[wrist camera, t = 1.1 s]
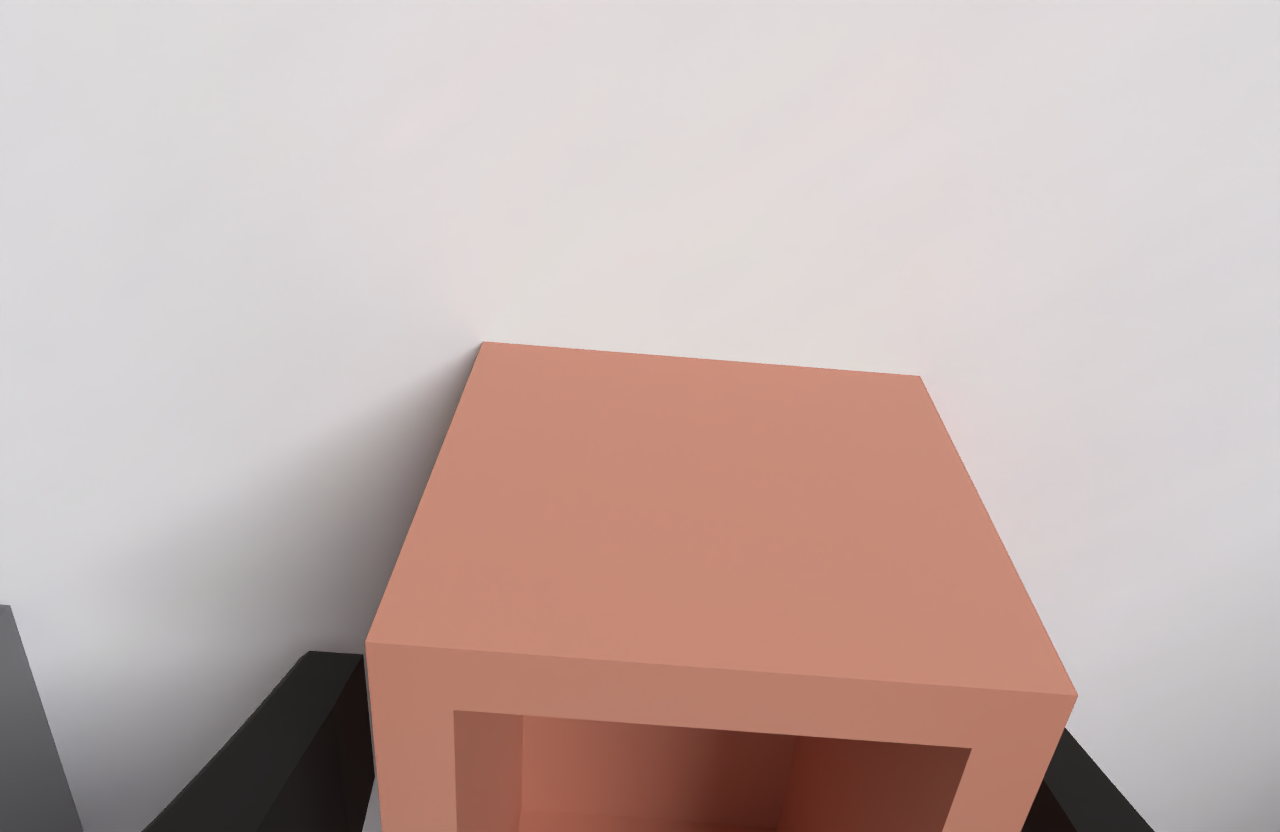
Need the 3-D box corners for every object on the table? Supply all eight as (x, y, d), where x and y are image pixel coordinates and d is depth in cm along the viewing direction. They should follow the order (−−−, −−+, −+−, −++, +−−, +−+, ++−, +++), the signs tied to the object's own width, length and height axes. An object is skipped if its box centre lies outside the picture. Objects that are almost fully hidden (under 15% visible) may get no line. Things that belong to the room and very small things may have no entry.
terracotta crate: (805, 822, 15) (860, 1209, 11) (487, 799, 15) (413, 1179, 11) (916, 371, 11) (1078, 695, 7) (484, 335, 11) (364, 642, 7)
